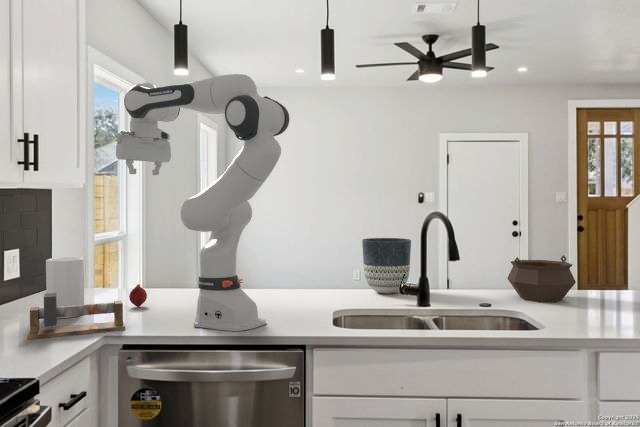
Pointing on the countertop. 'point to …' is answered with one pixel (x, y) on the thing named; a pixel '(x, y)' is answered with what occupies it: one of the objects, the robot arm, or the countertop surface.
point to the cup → (66, 280)
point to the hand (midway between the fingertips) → (144, 174)
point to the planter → (386, 263)
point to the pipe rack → (77, 310)
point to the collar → (50, 309)
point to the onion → (138, 296)
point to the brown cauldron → (541, 279)
